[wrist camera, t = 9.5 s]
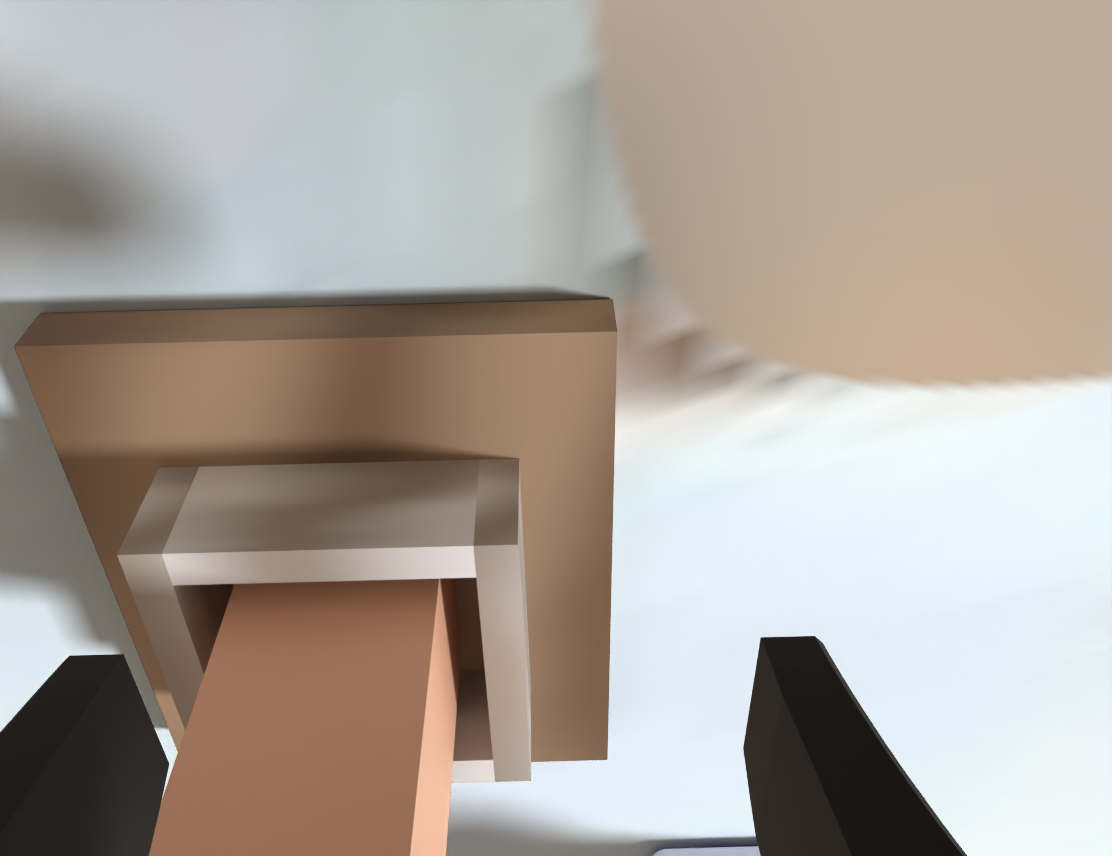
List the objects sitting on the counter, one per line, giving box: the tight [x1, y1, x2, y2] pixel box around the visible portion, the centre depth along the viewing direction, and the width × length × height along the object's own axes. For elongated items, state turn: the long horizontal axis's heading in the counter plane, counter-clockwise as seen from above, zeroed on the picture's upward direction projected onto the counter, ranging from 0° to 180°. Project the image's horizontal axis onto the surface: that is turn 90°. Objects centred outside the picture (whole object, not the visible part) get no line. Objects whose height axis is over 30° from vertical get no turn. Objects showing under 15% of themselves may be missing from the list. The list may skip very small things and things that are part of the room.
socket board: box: [14, 299, 617, 783], centre depth 21 cm, size 11×13×4 cm
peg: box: [149, 578, 462, 856], centre depth 19 cm, size 4×4×8 cm
